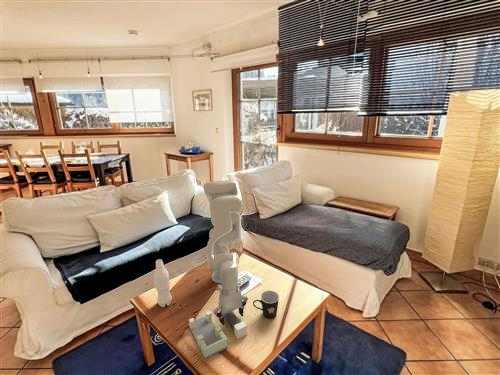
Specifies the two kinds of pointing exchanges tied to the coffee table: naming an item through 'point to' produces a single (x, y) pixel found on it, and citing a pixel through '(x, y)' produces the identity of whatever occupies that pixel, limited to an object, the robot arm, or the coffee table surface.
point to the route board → (208, 335)
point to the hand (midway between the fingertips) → (231, 318)
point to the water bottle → (162, 284)
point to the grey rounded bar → (237, 325)
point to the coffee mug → (269, 304)
